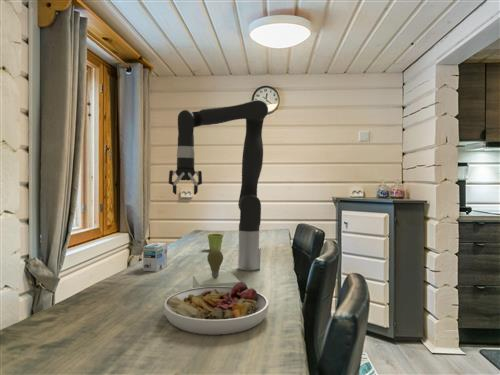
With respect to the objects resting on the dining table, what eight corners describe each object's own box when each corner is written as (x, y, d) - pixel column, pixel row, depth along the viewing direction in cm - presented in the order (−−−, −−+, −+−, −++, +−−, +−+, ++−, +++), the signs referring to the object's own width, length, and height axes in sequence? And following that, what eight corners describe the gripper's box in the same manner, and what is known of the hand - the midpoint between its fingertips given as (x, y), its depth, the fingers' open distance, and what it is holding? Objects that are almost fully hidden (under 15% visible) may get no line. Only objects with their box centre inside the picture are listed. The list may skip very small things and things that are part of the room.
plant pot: (226, 250, 209) (227, 234, 209) (216, 252, 201) (216, 236, 201) (213, 248, 214) (214, 233, 214) (203, 250, 206) (203, 235, 206)
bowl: (228, 350, 87) (229, 317, 87) (140, 322, 103) (141, 294, 103) (286, 313, 112) (286, 287, 112) (208, 295, 128) (208, 272, 128)
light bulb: (207, 275, 133) (207, 248, 133) (222, 275, 134) (223, 248, 134) (206, 280, 128) (207, 251, 128) (223, 280, 128) (223, 251, 128)
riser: (229, 285, 140) (229, 271, 140) (240, 296, 127) (240, 281, 127) (192, 287, 136) (192, 274, 135) (199, 299, 122) (199, 284, 122)
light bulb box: (157, 272, 158) (157, 247, 157) (142, 271, 159) (142, 246, 159) (167, 266, 168) (167, 242, 168) (153, 265, 169) (154, 242, 169)
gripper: (170, 156, 156) (169, 194, 156) (203, 157, 160) (203, 194, 160) (168, 157, 163) (167, 194, 163) (200, 158, 167) (199, 194, 168)
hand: (185, 194), depth 162 cm, fingers open, 8 cm apart
